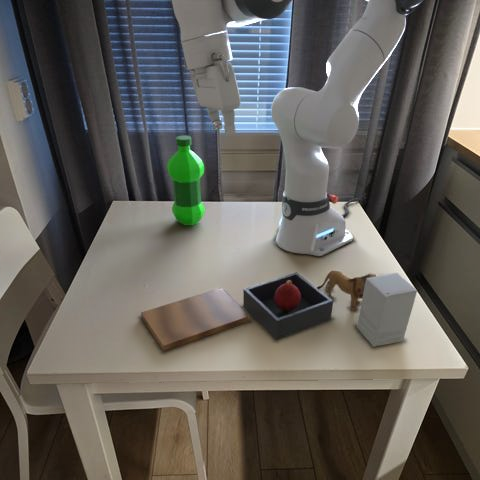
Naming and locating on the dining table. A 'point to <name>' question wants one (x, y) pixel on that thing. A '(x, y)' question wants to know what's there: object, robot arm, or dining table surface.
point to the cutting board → (193, 318)
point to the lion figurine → (347, 285)
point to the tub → (285, 323)
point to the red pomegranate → (287, 297)
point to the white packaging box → (385, 309)
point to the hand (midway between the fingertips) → (224, 131)
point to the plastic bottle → (186, 182)
